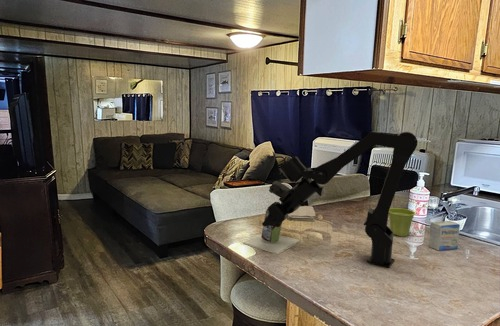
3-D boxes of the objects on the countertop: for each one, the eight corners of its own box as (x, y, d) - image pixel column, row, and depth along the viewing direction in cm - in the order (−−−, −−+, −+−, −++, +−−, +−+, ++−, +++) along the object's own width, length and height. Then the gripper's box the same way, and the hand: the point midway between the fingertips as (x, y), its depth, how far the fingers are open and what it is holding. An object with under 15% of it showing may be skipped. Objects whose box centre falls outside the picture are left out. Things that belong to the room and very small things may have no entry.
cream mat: (277, 254, 107) (277, 252, 107) (242, 243, 115) (242, 242, 115) (299, 241, 118) (299, 240, 118) (266, 232, 127) (266, 231, 127)
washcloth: (287, 222, 141) (287, 214, 141) (285, 210, 159) (286, 203, 159) (316, 223, 141) (317, 215, 140) (311, 211, 159) (312, 204, 158)
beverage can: (262, 237, 120) (263, 203, 119) (283, 239, 119) (284, 205, 117) (259, 243, 114) (260, 208, 113) (281, 245, 113) (282, 210, 111)
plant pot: (391, 238, 123) (393, 214, 122) (382, 229, 133) (383, 207, 132) (417, 238, 123) (419, 215, 122) (406, 230, 132) (408, 208, 131)
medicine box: (438, 251, 112) (440, 225, 111) (428, 246, 116) (430, 221, 115) (457, 249, 114) (460, 224, 113) (446, 244, 118) (449, 220, 117)
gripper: (293, 170, 120) (263, 197, 126) (274, 178, 104) (241, 209, 109) (314, 194, 118) (282, 221, 124) (299, 207, 101) (263, 237, 107)
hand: (268, 221), depth 116 cm, fingers open, 9 cm apart
